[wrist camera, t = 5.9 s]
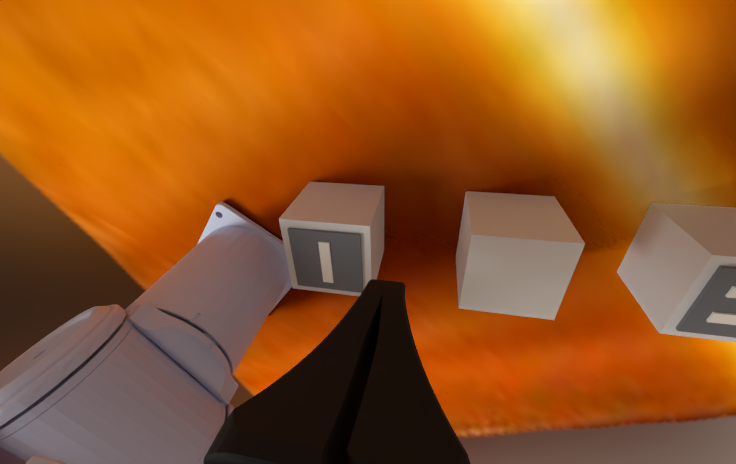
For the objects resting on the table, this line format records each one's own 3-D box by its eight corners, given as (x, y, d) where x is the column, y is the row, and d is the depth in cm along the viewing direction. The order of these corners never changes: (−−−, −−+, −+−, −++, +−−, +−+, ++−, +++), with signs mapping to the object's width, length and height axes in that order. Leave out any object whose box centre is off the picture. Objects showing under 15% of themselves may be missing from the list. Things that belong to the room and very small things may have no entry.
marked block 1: (318, 242, 24) (290, 291, 20) (310, 181, 21) (276, 221, 17) (384, 249, 23) (370, 301, 19) (384, 185, 21) (368, 229, 16)
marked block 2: (616, 271, 21) (662, 338, 16) (650, 202, 18) (717, 259, 14) (706, 279, 20) (781, 352, 15) (757, 207, 17) (865, 270, 13)
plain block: (455, 256, 22) (458, 308, 18) (465, 190, 20) (471, 234, 16) (532, 263, 22) (554, 319, 17) (554, 195, 19) (585, 243, 15)
